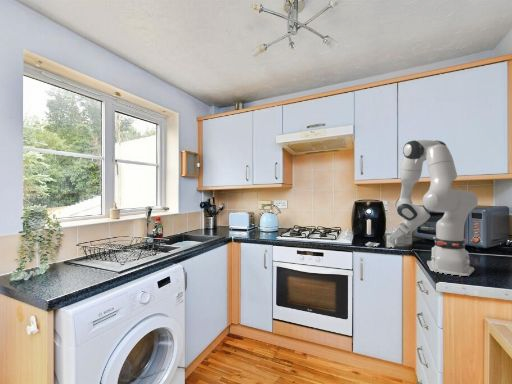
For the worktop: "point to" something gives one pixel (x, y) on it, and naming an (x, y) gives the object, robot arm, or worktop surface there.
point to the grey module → (391, 243)
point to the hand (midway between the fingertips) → (389, 239)
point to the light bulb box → (403, 238)
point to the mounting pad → (372, 244)
